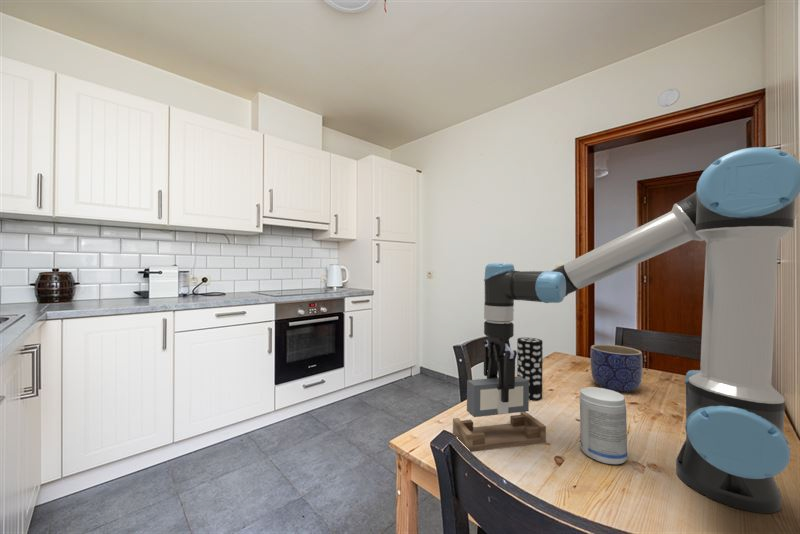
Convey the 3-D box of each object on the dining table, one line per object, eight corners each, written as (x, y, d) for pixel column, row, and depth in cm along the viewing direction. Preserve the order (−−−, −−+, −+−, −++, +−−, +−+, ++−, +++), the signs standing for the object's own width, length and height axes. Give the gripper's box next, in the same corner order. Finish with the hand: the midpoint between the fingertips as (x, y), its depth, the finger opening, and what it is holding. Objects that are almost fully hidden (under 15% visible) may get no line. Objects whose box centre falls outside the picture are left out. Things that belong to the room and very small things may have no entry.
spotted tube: (544, 395, 115) (544, 339, 115) (540, 402, 108) (540, 343, 108) (520, 390, 119) (520, 336, 120) (514, 397, 112) (515, 340, 112)
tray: (545, 442, 82) (546, 426, 82) (466, 452, 78) (466, 434, 78) (525, 426, 91) (525, 411, 91) (452, 433, 86) (453, 418, 86)
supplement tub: (637, 463, 74) (637, 399, 74) (603, 469, 71) (603, 403, 72) (602, 441, 83) (601, 385, 83) (570, 446, 81) (570, 387, 81)
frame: (528, 411, 85) (528, 381, 85) (474, 417, 81) (474, 385, 81) (519, 405, 89) (519, 376, 89) (466, 410, 84) (467, 380, 85)
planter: (654, 396, 114) (653, 354, 115) (607, 395, 114) (607, 354, 115) (622, 380, 131) (622, 344, 131) (582, 380, 131) (581, 343, 131)
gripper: (531, 326, 77) (530, 423, 77) (495, 316, 94) (494, 395, 94) (503, 327, 76) (502, 426, 75) (471, 316, 92) (470, 397, 92)
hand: (497, 409), depth 85 cm, fingers closed on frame, 4 cm apart
